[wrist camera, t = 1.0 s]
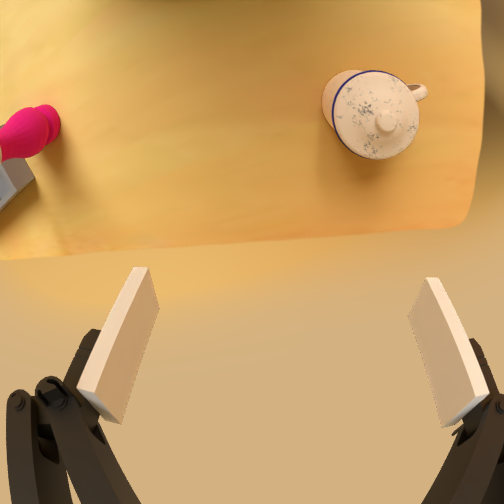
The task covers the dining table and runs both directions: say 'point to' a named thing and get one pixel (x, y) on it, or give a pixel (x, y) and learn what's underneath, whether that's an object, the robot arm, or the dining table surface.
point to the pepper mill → (28, 132)
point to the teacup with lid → (373, 112)
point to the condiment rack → (13, 178)
